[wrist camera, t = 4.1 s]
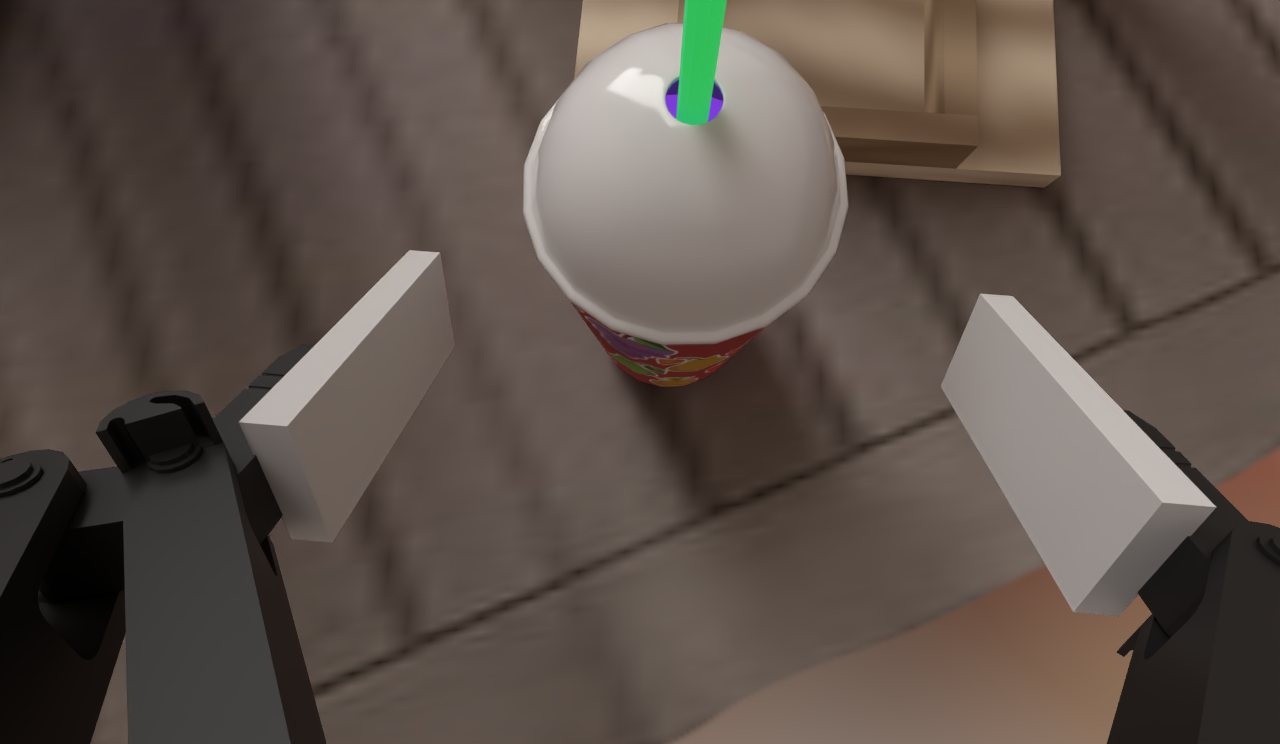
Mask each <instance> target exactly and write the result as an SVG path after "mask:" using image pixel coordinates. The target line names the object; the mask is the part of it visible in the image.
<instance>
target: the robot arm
mask: <svg viewBox="0 0 1280 744" xmlns="http://www.w3.org/2000/svg"><path fill="white" fill-rule="evenodd" d="M454 347H455V344H454V337H453V331H452V325H451V318H450V312H449V306H448V300H447V293H446V287H445V281H444V274H443V268H442V262H441V256H440V253H439V252H426V251H413V250H409V251H408V252H407V253H406V254H405V255H404V256H403V257H402V258H401V259H400V260H399V261H398V262H397V263H396V264H395V265H394V266H393V267H392V268H391V269H390V270H389V271H388V272H387V273H386V274H385V275H384V276H383V277H382V278H381V279H380V280H379V281H378V282H377V283H376V284H375V285H374V286H373V287H372V288H371V289H370V290H369V291H368V292H367V294H366V295H365V296H364V297H363V298H362V299H361V300H360V301H359V302H358V303H357V304H356V305H355V306H354V307H353V308H352V309H351V310H350V311H349V312H348V313H347V314H346V315H345V316H344V317H343V318H342V319H341V320H340V321H339V322H338V323H337V324H336V325H335V326H334V327H333V328H332V329H331V330H330V331H329V332H328V333H327V334H326V335H325V336H324V337H323V338H322V339H321V340H320V341H319V342H318V343H317V344H316V345H301V346H299V347H297V348H295V349H293V350H291V351H289V352H288V353H286V354H284V355H282V356H280V357H278V358H277V359H276V360H275V361H274V362H273V363H272V364H271V365H270V366H269V367H268V368H267V369H266V370H265V371H263V372H262V376H258V377H257V378H256V379H255V380H254V381H253V382H252V383H251V384H250V385H249V388H248V389H244V390H243V391H242V392H241V393H240V394H239V395H238V396H237V397H236V398H235V399H234V400H233V401H232V402H231V403H230V404H229V405H228V406H226V407H225V408H224V409H223V410H222V411H221V412H220V413H219V414H218V415H217V416H216V417H215V418H214V419H212V417H211V415H210V413H209V411H208V409H207V407H206V405H205V403H204V401H203V400H202V399H201V397H200V396H199V395H198V394H195V393H192V392H189V391H165V392H159V393H154V394H149V395H146V396H143V397H140V398H138V399H135V400H132V401H129V402H128V403H126V404H124V405H122V406H120V407H118V408H117V409H115V410H113V411H112V412H111V413H110V414H108V415H107V416H106V417H105V418H104V419H103V420H102V421H101V422H100V424H99V426H98V428H97V431H96V434H97V435H98V437H99V438H100V440H101V442H102V443H103V445H104V446H105V448H106V449H107V451H108V452H109V454H110V456H111V457H112V459H113V460H114V462H115V463H116V465H117V466H118V467H111V468H103V469H96V470H88V471H81V472H78V471H77V469H76V468H75V467H74V465H73V464H72V462H71V461H70V459H69V458H68V457H67V456H66V455H65V454H64V453H63V452H59V451H54V450H49V449H48V450H36V451H28V452H24V453H20V454H17V455H11V456H8V457H5V458H2V459H0V744H90V742H91V739H92V736H93V733H94V730H95V727H96V723H97V720H98V717H99V714H100V711H101V708H102V705H103V702H104V698H105V695H106V692H107V689H108V686H109V683H110V680H111V676H112V673H113V670H114V667H115V664H116V661H117V658H118V654H119V651H120V648H121V645H122V642H123V639H124V636H125V632H126V663H127V706H128V744H326V740H325V736H324V732H323V729H322V725H321V721H320V717H319V714H318V710H317V706H316V702H315V699H314V695H313V691H312V687H311V684H310V680H309V676H308V673H307V669H306V665H305V661H304V658H303V654H302V650H301V646H300V643H299V639H298V635H297V631H296V628H295V624H294V620H293V616H292V613H291V609H290V605H289V601H288V598H287V594H286V590H285V586H284V583H283V579H282V575H281V571H280V568H279V564H278V560H277V556H276V553H275V549H274V546H273V544H272V542H271V539H270V537H269V535H268V534H269V533H270V532H271V530H272V529H273V528H274V526H275V525H276V524H277V522H278V521H279V520H280V518H281V517H282V520H283V522H284V524H285V526H286V528H287V531H288V533H289V535H290V537H291V539H297V540H308V541H319V542H329V543H333V541H334V540H335V538H336V536H337V535H338V533H339V532H340V530H341V528H342V527H343V525H344V524H345V522H346V520H347V519H348V517H349V516H350V514H351V512H352V511H353V509H354V508H355V506H356V504H357V503H358V501H359V500H360V498H361V496H362V495H363V493H364V492H365V490H366V488H367V487H368V485H369V484H370V482H371V480H372V479H373V477H374V476H375V474H376V472H377V471H378V469H379V468H380V466H381V464H382V463H383V461H384V460H385V458H386V456H387V455H388V453H389V452H390V450H391V448H392V447H393V445H394V444H395V442H396V440H397V439H398V437H399V436H400V434H401V432H402V431H403V429H404V428H405V426H406V424H407V423H408V421H409V420H410V418H411V416H412V415H413V413H414V412H415V410H416V408H417V407H418V405H419V404H420V402H421V400H422V399H423V397H424V396H425V394H426V392H427V391H428V389H429V388H430V386H431V384H432V383H433V381H434V380H435V378H436V376H437V375H438V373H439V372H440V370H441V368H442V367H443V365H444V364H445V362H446V360H447V359H448V357H449V355H450V354H451V352H452V351H453V349H454ZM941 388H942V390H943V391H944V393H945V395H946V396H947V398H948V400H949V401H950V403H951V405H952V407H953V408H954V410H955V412H956V413H957V415H958V417H959V418H960V420H961V422H962V424H963V425H964V427H965V429H966V430H967V432H968V434H969V435H970V437H971V439H972V441H973V442H974V444H975V446H976V447H977V449H978V451H979V452H980V454H981V456H982V458H983V459H984V461H985V463H986V464H987V466H988V468H989V469H990V471H991V473H992V475H993V476H994V478H995V480H996V481H997V483H998V485H999V486H1000V488H1001V490H1002V492H1003V493H1004V495H1005V497H1006V498H1007V500H1008V502H1009V504H1010V505H1011V507H1012V509H1013V510H1014V512H1015V514H1016V515H1017V517H1018V519H1019V521H1020V522H1021V524H1022V526H1023V527H1024V529H1025V531H1026V532H1027V534H1028V536H1029V538H1030V539H1031V541H1032V543H1033V544H1034V546H1035V548H1036V549H1037V551H1038V553H1039V555H1040V556H1041V558H1042V560H1043V561H1044V563H1045V565H1046V566H1047V568H1048V570H1049V572H1050V573H1051V575H1052V576H1053V578H1054V580H1055V582H1056V583H1057V585H1058V587H1059V588H1060V590H1061V592H1062V594H1063V595H1064V597H1065V599H1066V600H1067V602H1068V603H1069V606H1070V607H1071V609H1072V611H1073V612H1077V613H1088V614H1098V615H1109V616H1119V615H1120V614H1121V613H1122V612H1123V611H1124V610H1125V609H1126V608H1127V607H1128V605H1129V604H1130V603H1131V602H1132V601H1133V599H1135V598H1136V596H1137V595H1138V594H1139V595H1140V597H1141V598H1142V600H1143V601H1144V603H1145V604H1146V605H1147V607H1148V608H1149V610H1150V611H1151V613H1152V615H1151V616H1150V617H1149V618H1148V619H1147V620H1146V621H1145V622H1144V623H1143V624H1142V625H1141V626H1140V627H1139V628H1138V629H1137V630H1136V632H1135V633H1134V634H1133V635H1132V636H1131V637H1130V638H1129V639H1128V640H1127V641H1126V642H1125V643H1124V644H1123V645H1122V646H1121V648H1120V649H1119V650H1118V651H1117V653H1119V654H1120V655H1122V656H1123V657H1124V656H1125V655H1126V654H1127V653H1128V652H1129V651H1130V650H1134V651H1133V654H1132V658H1131V661H1130V665H1129V668H1128V672H1127V675H1126V679H1125V682H1124V686H1123V689H1122V693H1121V696H1120V700H1119V703H1118V707H1117V711H1116V714H1115V717H1114V721H1113V724H1112V728H1111V731H1110V735H1109V738H1108V742H1107V744H1280V528H1278V527H1275V526H1272V525H1270V524H1264V523H1257V522H1251V521H1250V522H1249V521H1248V520H1247V519H1246V518H1245V517H1244V516H1243V515H1242V514H1241V513H1240V512H1239V511H1238V510H1237V509H1236V508H1235V507H1234V506H1233V505H1232V504H1231V503H1230V502H1229V501H1228V500H1227V499H1226V498H1225V497H1224V496H1223V495H1222V494H1221V493H1220V492H1219V491H1218V490H1217V489H1216V488H1215V487H1214V486H1213V485H1212V484H1211V483H1210V482H1209V481H1208V480H1207V479H1206V478H1205V477H1204V476H1203V475H1202V474H1201V473H1200V472H1199V471H1198V470H1197V469H1196V468H1191V463H1190V462H1189V461H1188V460H1187V459H1186V458H1185V457H1184V456H1183V455H1182V454H1181V453H1180V452H1177V451H1175V447H1174V446H1173V445H1172V444H1171V443H1170V442H1169V441H1168V440H1167V439H1166V438H1165V437H1164V436H1163V435H1162V434H1161V433H1160V432H1159V431H1158V430H1157V429H1156V428H1155V427H1153V426H1151V425H1150V424H1148V423H1147V422H1145V421H1144V420H1142V419H1141V418H1139V417H1138V416H1136V415H1134V414H1133V413H1131V412H1130V411H1127V410H1122V409H1121V408H1120V407H1119V406H1118V405H1117V404H1116V403H1115V402H1114V401H1113V399H1112V398H1111V397H1110V396H1109V395H1108V394H1107V393H1106V392H1105V391H1104V390H1103V389H1102V388H1101V387H1100V386H1099V385H1098V384H1097V383H1096V382H1095V381H1094V380H1093V379H1092V378H1091V377H1090V376H1089V375H1088V374H1087V373H1086V372H1085V370H1084V369H1083V368H1082V367H1081V366H1080V365H1079V364H1078V363H1077V362H1076V361H1075V360H1074V359H1073V358H1072V357H1071V356H1070V355H1069V354H1068V353H1067V352H1066V351H1065V350H1064V349H1063V348H1062V347H1061V346H1060V345H1059V344H1058V343H1057V341H1056V340H1055V339H1054V338H1053V337H1052V336H1051V335H1050V334H1049V333H1048V332H1047V331H1046V330H1045V329H1044V328H1043V327H1042V326H1041V325H1040V324H1039V323H1038V322H1037V321H1036V320H1035V319H1034V318H1033V317H1032V316H1031V315H1030V314H1029V313H1028V311H1027V310H1026V309H1025V308H1024V307H1023V306H1022V305H1021V304H1020V303H1019V302H1018V301H1017V300H1016V299H1015V298H1014V297H1013V296H1004V295H991V294H980V295H979V298H978V300H977V302H976V305H975V307H974V309H973V312H972V314H971V316H970V319H969V321H968V323H967V326H966V328H965V330H964V333H963V335H962V337H961V340H960V342H959V344H958V347H957V349H956V351H955V354H954V356H953V358H952V361H951V363H950V365H949V368H948V370H947V372H946V375H945V377H944V379H943V382H942V384H941Z"/></svg>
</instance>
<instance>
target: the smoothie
mask: <svg viewBox="0 0 1280 744" xmlns="http://www.w3.org/2000/svg"><path fill="white" fill-rule="evenodd" d="M726 3H727V0H685V7H684V20H683V23H665V24H662V25H659V26H655V27H652V28H649V29H646V30H643V31H640V32H637V33H633V34H630V35H627V36H626V37H624V38H623V39H621V40H620V41H618V42H617V43H615V44H614V45H612V46H611V47H609V48H608V49H606V50H605V51H604V52H602V53H601V54H599V55H598V56H596V57H595V58H593V59H592V60H591V61H589V62H588V63H587V64H586V65H585V66H584V67H583V68H582V70H581V71H580V72H579V74H578V75H577V76H576V77H575V79H574V80H573V81H572V82H571V84H570V85H569V86H568V87H567V89H566V90H565V91H564V92H563V94H562V95H561V96H560V98H559V99H558V100H557V102H556V103H555V104H554V105H553V107H552V108H551V109H550V110H549V112H548V113H547V114H546V116H545V117H544V118H543V119H542V121H541V122H540V124H539V127H538V130H537V132H536V135H535V138H534V140H533V143H532V146H531V148H530V151H529V154H528V156H527V159H526V162H525V164H524V180H523V216H524V219H525V222H526V225H527V228H528V231H529V234H530V237H531V241H532V244H533V247H534V250H535V253H536V256H537V259H538V261H539V262H540V264H541V265H542V266H543V268H544V269H545V270H546V271H547V273H548V274H549V275H550V277H551V278H552V279H553V281H554V282H555V283H556V285H557V286H558V287H559V289H560V290H561V291H562V292H563V294H564V295H565V296H566V298H567V299H568V300H569V301H570V302H571V303H572V304H573V306H574V307H575V308H576V310H577V311H578V313H579V314H580V315H581V317H582V318H583V320H584V321H585V322H586V324H587V325H588V327H589V328H590V329H591V331H592V332H593V333H594V335H595V336H596V338H597V339H598V340H599V342H600V343H601V345H602V346H603V347H604V349H605V351H606V352H607V353H608V354H609V356H610V357H611V358H612V359H613V360H614V362H615V363H616V364H617V365H618V367H619V368H620V369H622V370H623V371H625V372H626V373H628V374H630V375H631V376H633V377H634V378H636V379H637V380H639V381H642V382H646V383H649V384H653V385H657V386H661V387H669V386H686V385H688V384H691V383H694V382H696V381H699V380H702V379H704V378H707V377H708V376H710V375H711V374H712V373H713V372H715V371H716V370H717V369H718V368H719V367H721V366H722V365H723V364H724V363H725V362H726V361H728V360H729V359H730V358H731V357H732V356H733V355H734V354H736V353H737V352H738V351H739V350H740V349H741V348H743V347H744V346H745V345H746V344H747V343H748V342H749V341H751V340H752V339H753V338H754V337H755V336H756V335H757V334H759V333H760V332H761V331H762V330H763V329H764V328H765V327H767V326H768V325H769V324H770V323H771V322H773V321H774V320H775V319H777V318H778V317H780V316H781V315H782V314H784V313H785V312H786V311H788V310H789V309H790V308H792V307H793V306H794V305H796V304H797V303H798V302H800V301H801V300H802V299H804V298H805V297H806V296H808V295H809V293H810V292H811V290H812V289H813V287H814V286H815V284H816V283H817V281H818V280H819V278H820V277H821V275H822V274H823V272H824V271H825V269H826V268H827V266H828V265H829V263H830V262H831V261H832V259H833V258H834V256H835V255H836V252H837V248H838V245H839V241H840V237H841V234H842V230H843V226H844V223H845V219H846V215H847V211H848V208H849V204H848V192H847V180H846V168H845V159H844V156H843V154H842V152H841V149H840V147H839V145H838V143H837V140H836V138H835V136H834V133H833V131H832V129H831V126H830V124H829V122H828V119H827V117H826V115H825V113H824V112H823V111H822V109H821V106H820V104H819V102H818V99H817V97H816V95H815V93H814V91H813V89H812V88H811V87H810V86H809V85H808V84H807V82H806V81H805V80H804V79H803V78H802V77H801V76H800V75H799V74H798V72H797V71H796V70H795V69H794V68H793V67H792V66H791V65H790V64H789V62H788V61H787V60H786V59H785V58H784V57H783V56H782V55H781V54H780V53H779V52H778V51H776V50H774V49H773V48H771V47H769V46H768V45H766V44H764V43H763V42H761V41H759V40H758V39H756V38H754V37H753V36H751V35H749V34H748V33H746V32H743V31H739V30H735V29H731V28H727V27H723V22H724V15H725V9H726Z"/></svg>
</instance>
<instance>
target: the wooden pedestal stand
mask: <svg viewBox="0 0 1280 744" xmlns="http://www.w3.org/2000/svg"><path fill="white" fill-rule="evenodd" d="M684 7H685V0H583V5H582V14H581V23H580V32H579V41H578V50H577V59H576V68H575V77H576V76H577V75H578V74H579V72H580V71H581V70H582V68H583V67H584V66H585V65H586V64H587V63H588V62H589V61H591V60H592V59H593V58H595V57H596V56H598V55H599V54H601V53H602V52H604V51H605V50H606V49H608V48H609V47H611V46H612V45H614V44H615V43H617V42H618V41H620V40H621V39H623V38H624V37H626V36H627V35H630V34H633V33H637V32H640V31H643V30H646V29H649V28H652V27H655V26H659V25H662V24H665V23H683V20H684ZM723 27H727V28H731V29H735V30H739V31H743V32H746V33H748V34H749V35H751V36H753V37H754V38H756V39H758V40H759V41H761V42H763V43H764V44H766V45H768V46H769V47H771V48H773V49H774V50H776V51H778V52H779V53H780V54H781V55H782V56H783V57H784V58H785V59H786V60H787V61H788V62H789V64H790V65H791V66H792V67H793V68H794V69H795V70H796V71H797V72H798V74H799V75H800V76H801V77H802V78H803V79H804V80H805V81H806V82H807V84H808V85H809V86H810V87H811V88H812V89H813V91H814V93H815V95H816V97H817V99H818V102H819V104H820V106H821V109H822V111H823V112H824V113H825V115H826V117H827V119H828V122H829V124H830V126H831V129H832V131H833V133H834V136H835V138H836V140H837V143H838V145H839V147H840V149H841V152H842V154H843V156H844V159H845V168H846V175H861V176H876V177H891V178H907V179H922V180H937V181H952V182H967V183H983V184H998V185H1013V186H1028V187H1043V188H1045V187H1046V186H1047V185H1049V184H1050V183H1051V182H1053V181H1054V180H1056V179H1057V178H1058V177H1060V176H1061V165H1060V143H1059V120H1058V98H1057V76H1056V53H1055V31H1054V9H1053V0H727V3H726V9H725V15H724V22H723ZM575 77H574V79H575Z"/></svg>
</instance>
